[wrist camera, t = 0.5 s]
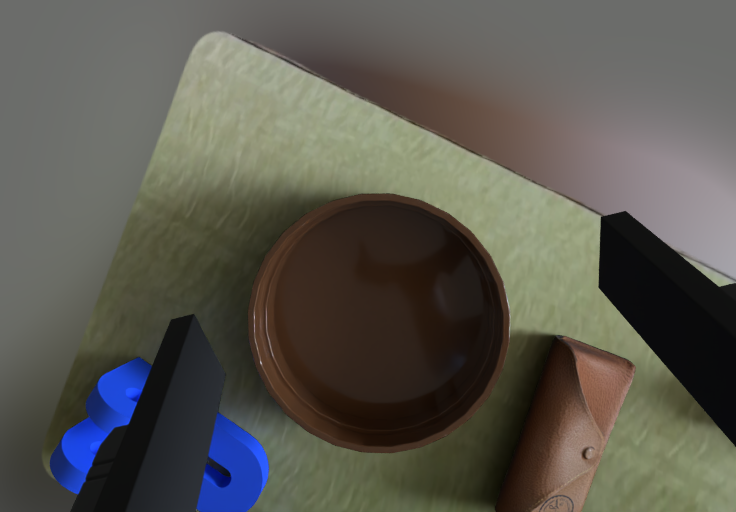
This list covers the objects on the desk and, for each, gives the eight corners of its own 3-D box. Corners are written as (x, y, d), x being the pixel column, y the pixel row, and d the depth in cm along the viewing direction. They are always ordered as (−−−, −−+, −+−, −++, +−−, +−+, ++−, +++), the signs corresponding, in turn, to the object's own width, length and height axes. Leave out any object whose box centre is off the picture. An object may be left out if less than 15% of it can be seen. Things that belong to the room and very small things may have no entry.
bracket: (97, 421, 51) (31, 463, 42) (138, 356, 50) (80, 386, 41) (240, 521, 50) (204, 586, 41) (284, 458, 49) (257, 510, 40)
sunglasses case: (578, 534, 47) (562, 564, 42) (509, 494, 51) (486, 516, 46) (640, 359, 46) (632, 366, 40) (564, 332, 50) (548, 334, 44)
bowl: (545, 295, 46) (566, 306, 40) (398, 469, 49) (397, 504, 43) (360, 149, 47) (354, 139, 41) (222, 329, 49) (197, 343, 43)
